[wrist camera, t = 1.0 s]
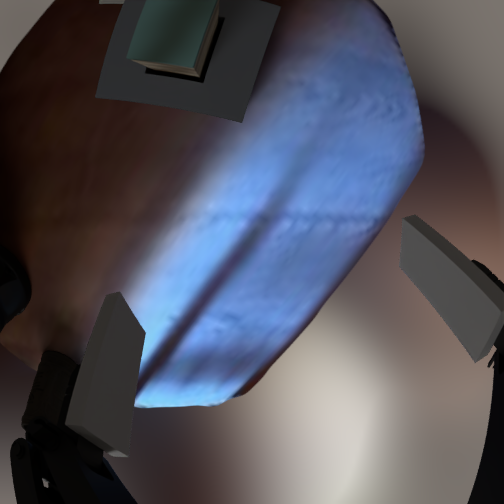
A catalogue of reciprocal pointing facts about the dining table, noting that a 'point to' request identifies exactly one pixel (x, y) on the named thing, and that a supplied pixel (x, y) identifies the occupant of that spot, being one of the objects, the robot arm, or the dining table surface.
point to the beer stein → (49, 388)
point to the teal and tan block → (175, 36)
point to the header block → (219, 71)
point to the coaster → (111, 1)
